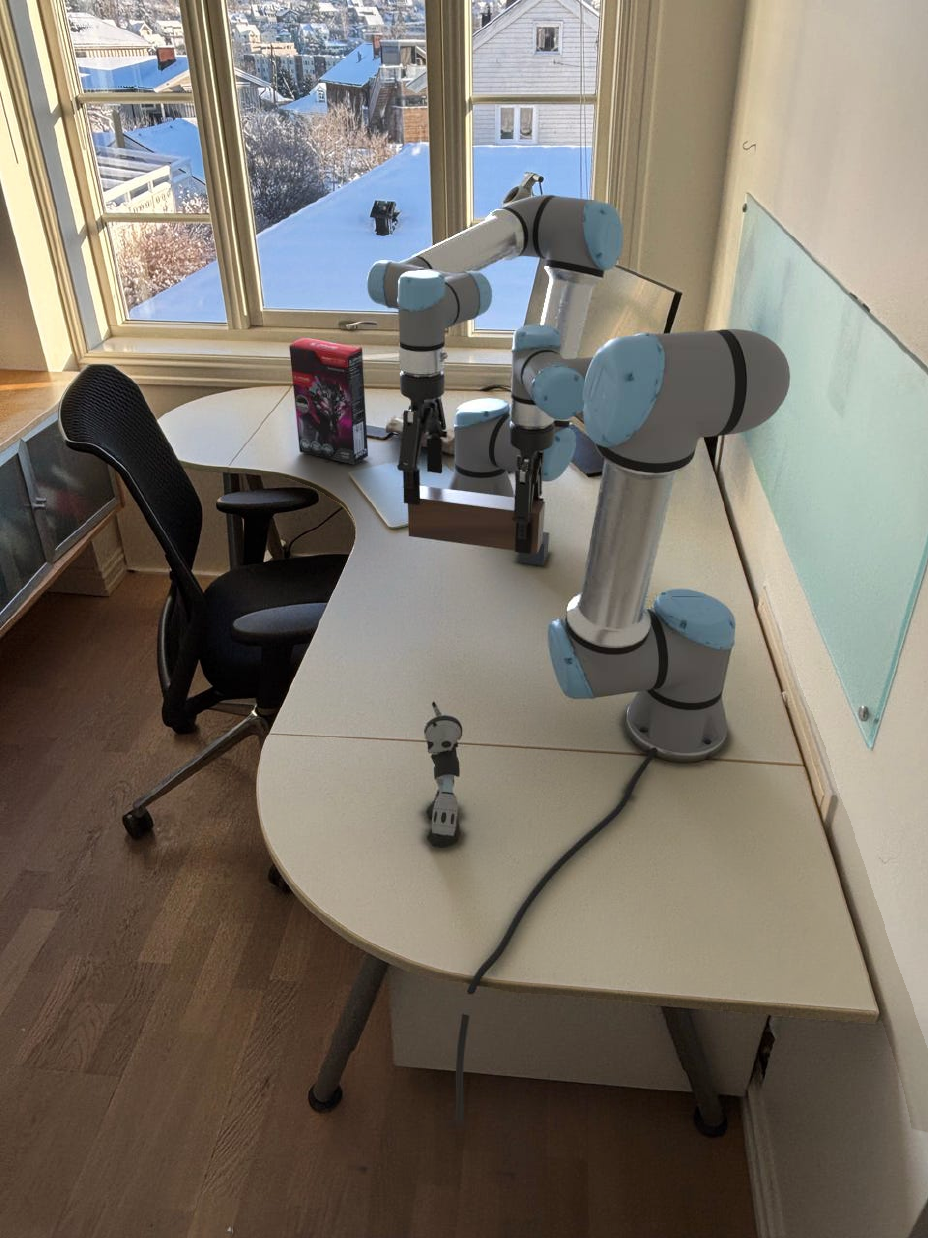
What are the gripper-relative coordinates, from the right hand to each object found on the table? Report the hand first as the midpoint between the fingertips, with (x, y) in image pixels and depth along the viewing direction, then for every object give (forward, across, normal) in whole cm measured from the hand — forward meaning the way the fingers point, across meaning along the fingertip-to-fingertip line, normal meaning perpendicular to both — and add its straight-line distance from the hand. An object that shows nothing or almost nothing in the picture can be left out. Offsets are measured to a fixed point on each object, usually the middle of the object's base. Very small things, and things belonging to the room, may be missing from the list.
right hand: (526, 544), depth 166 cm
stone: (+13, +66, +41) cm, 79 cm away
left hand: (-9, 0, +19) cm, 21 cm away
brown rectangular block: (0, 0, +10) cm, 10 cm away
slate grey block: (+13, +17, +2) cm, 21 cm away
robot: (+13, -58, -1) cm, 59 cm away
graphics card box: (+13, +53, +60) cm, 81 cm away
